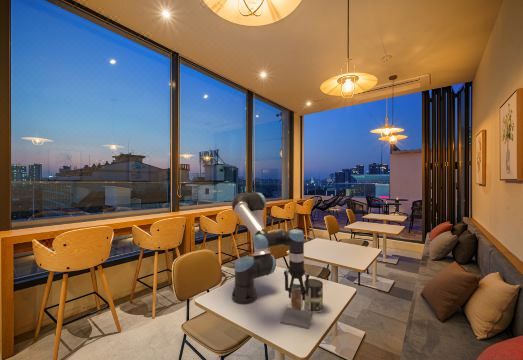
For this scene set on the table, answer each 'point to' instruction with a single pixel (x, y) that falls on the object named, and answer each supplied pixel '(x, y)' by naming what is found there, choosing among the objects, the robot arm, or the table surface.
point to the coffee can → (314, 296)
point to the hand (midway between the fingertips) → (296, 305)
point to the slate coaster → (296, 317)
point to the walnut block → (296, 297)
